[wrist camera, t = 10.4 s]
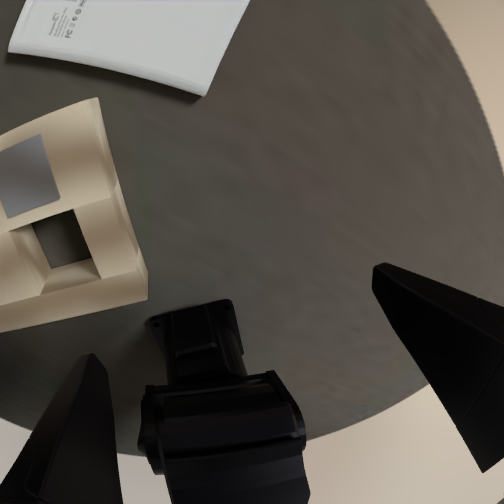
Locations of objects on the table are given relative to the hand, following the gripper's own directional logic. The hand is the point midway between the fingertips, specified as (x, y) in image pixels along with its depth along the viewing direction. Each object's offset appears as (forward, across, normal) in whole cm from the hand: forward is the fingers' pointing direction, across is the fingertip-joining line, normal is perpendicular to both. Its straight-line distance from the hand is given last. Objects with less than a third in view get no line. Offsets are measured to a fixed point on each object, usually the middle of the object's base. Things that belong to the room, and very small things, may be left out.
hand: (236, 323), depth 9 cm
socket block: (+12, +13, -2) cm, 18 cm away
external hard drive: (+13, +1, -12) cm, 18 cm away
